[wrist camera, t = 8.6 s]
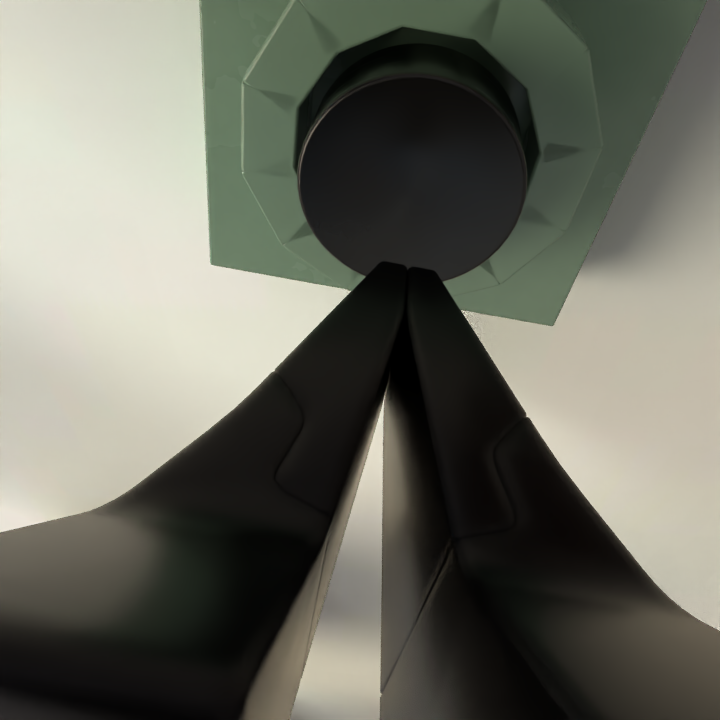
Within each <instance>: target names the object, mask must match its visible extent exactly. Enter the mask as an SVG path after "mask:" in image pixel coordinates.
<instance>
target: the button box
mask: <svg viewBox="0 0 720 720" xmlns="http://www.w3.org/2000/svg"><path fill="white" fill-rule="evenodd" d="M706 2H707V0H199V4H200V28H201V52H202V76H203V100H204V124H205V148H206V172H207V196H208V220H209V244H210V263H211V265H215V266H221V267H226V268H232V269H237V270H243V271H248V272H254V273H259V274H265V275H270V276H276V277H282V278H287V279H293V280H298V281H304V282H309V283H315V284H320V285H326V286H332V287H337V288H343V289H348V290H350V291H352V290H353V289H354V288H355V287H356V286H357V285H358V284H359V283H360V282H361V281H362V280H363V279H364V278H365V276H363V275H361V274H359V273H357V272H355V271H353V270H351V269H350V268H348V267H347V266H345V265H344V264H342V263H341V262H340V261H338V260H337V259H336V258H335V257H333V256H332V255H331V254H330V253H329V252H328V251H327V250H326V249H325V248H324V247H323V246H322V244H321V243H320V242H319V240H318V239H317V238H316V237H315V235H314V233H313V232H312V230H311V228H310V227H309V225H308V223H307V220H306V218H305V216H304V213H303V211H302V207H301V204H300V200H299V195H298V188H297V169H298V162H299V156H300V153H301V149H302V146H303V143H304V140H305V138H306V136H307V133H308V131H309V129H310V126H311V124H312V122H313V119H314V117H315V115H316V112H317V110H318V108H319V106H320V103H321V101H322V99H323V97H324V96H325V94H326V92H327V91H328V89H329V88H330V86H331V85H332V84H333V83H334V82H335V80H336V79H337V78H338V77H339V76H340V75H341V74H342V73H343V72H344V71H345V70H346V69H347V68H349V67H350V66H351V65H352V64H354V63H355V62H357V61H358V60H360V59H361V58H363V57H365V56H367V55H369V54H371V53H373V52H375V51H378V50H381V49H384V48H387V47H390V46H396V45H402V44H414V43H423V44H432V45H439V46H443V47H446V48H450V49H453V50H456V51H458V52H460V53H463V54H465V55H467V56H469V57H470V58H472V59H474V60H475V61H477V62H479V63H480V64H481V65H482V66H484V67H485V68H486V69H487V70H488V71H490V72H491V73H492V74H493V76H494V77H495V78H496V79H497V80H498V81H499V82H500V83H501V85H502V86H503V88H504V89H505V91H506V92H507V94H508V95H509V97H510V100H511V102H512V104H513V106H514V108H515V111H516V114H517V118H518V121H519V126H520V131H521V137H522V142H523V147H524V153H525V158H526V165H527V182H528V185H527V192H526V199H525V203H524V206H523V210H522V213H521V215H520V217H519V220H518V222H517V224H516V226H515V228H514V229H513V231H512V233H511V234H510V236H509V237H508V239H507V240H506V241H505V242H504V244H503V245H502V246H501V247H500V248H499V249H498V250H497V251H496V252H495V253H494V254H493V255H492V256H491V257H490V258H489V259H488V260H486V261H485V262H484V263H482V264H481V265H480V266H478V267H476V268H475V269H473V270H471V271H469V272H468V273H466V274H463V275H461V276H459V277H456V278H454V279H450V280H447V281H444V282H443V283H444V285H445V287H446V288H447V290H448V291H449V293H450V294H451V296H452V298H453V299H454V301H455V302H456V304H457V305H458V307H459V309H460V310H465V311H470V312H476V313H481V314H487V315H492V316H498V317H504V318H509V319H515V320H520V321H526V322H531V323H537V324H542V325H548V326H553V325H554V323H555V321H556V319H557V317H558V315H559V313H560V311H561V308H562V306H563V304H564V302H565V300H566V298H567V296H568V294H569V292H570V289H571V287H572V285H573V283H574V281H575V279H576V277H577V275H578V273H579V270H580V268H581V266H582V264H583V262H584V260H585V258H586V256H587V254H588V251H589V249H590V247H591V245H592V243H593V241H594V239H595V237H596V234H597V232H598V230H599V228H600V226H601V224H602V222H603V220H604V218H605V215H606V213H607V211H608V209H609V207H610V205H611V203H612V201H613V199H614V196H615V194H616V192H617V190H618V188H619V186H620V184H621V182H622V180H623V177H624V175H625V173H626V171H627V169H628V167H629V165H630V163H631V160H632V158H633V156H634V154H635V152H636V150H637V148H638V146H639V144H640V141H641V139H642V137H643V135H644V133H645V131H646V129H647V127H648V125H649V122H650V120H651V118H652V116H653V114H654V112H655V110H656V108H657V106H658V103H659V101H660V99H661V97H662V95H663V93H664V91H665V89H666V86H667V84H668V82H669V80H670V78H671V76H672V74H673V72H674V70H675V67H676V65H677V63H678V61H679V59H680V57H681V55H682V53H683V51H684V48H685V46H686V44H687V42H688V40H689V38H690V36H691V34H692V32H693V29H694V27H695V25H696V23H697V21H698V19H699V17H700V15H701V12H702V10H703V8H704V6H705V4H706Z"/></svg>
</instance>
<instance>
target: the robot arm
mask: <svg viewBox="0 0 720 720" xmlns="http://www.w3.org/2000/svg"><path fill="white" fill-rule="evenodd" d="M384 395H385V399H384ZM383 399H384V425H383V511H382V598H381V685H380V692H381V694H382V695H381V697H380V720H720V631H719V630H717V629H715V628H713V627H711V626H709V625H707V624H705V623H704V622H702V621H700V620H698V619H697V618H695V617H694V616H692V615H691V614H689V613H688V612H686V611H685V610H684V609H682V608H681V607H680V606H679V605H677V604H676V603H675V602H674V601H673V600H671V599H670V598H669V597H668V596H667V595H666V594H665V593H664V592H663V591H662V590H661V589H660V588H659V587H658V586H657V585H656V584H655V583H654V582H653V580H652V579H651V578H650V577H649V576H648V575H647V573H646V572H645V571H644V570H643V569H642V567H641V566H640V565H639V564H638V562H637V561H636V560H635V559H634V557H633V556H632V555H631V554H630V552H629V551H628V550H627V549H626V547H625V546H624V545H623V544H622V542H621V541H620V540H619V539H618V537H617V536H616V535H615V534H614V532H613V531H612V530H611V529H610V528H609V526H608V525H607V524H606V523H605V521H604V520H603V519H602V518H601V516H600V515H599V514H598V513H597V511H596V510H595V509H594V508H593V506H592V505H591V504H590V503H589V501H588V500H587V499H586V498H585V496H584V495H583V494H582V492H581V491H580V490H579V489H578V487H577V486H576V485H575V483H574V482H573V481H572V479H571V478H570V477H569V475H568V474H567V473H566V472H565V470H564V469H563V468H562V466H561V465H560V464H559V462H558V461H557V459H556V458H555V456H554V455H553V453H552V452H551V450H550V449H549V447H548V446H547V444H546V443H545V441H544V440H543V439H542V437H541V436H540V434H539V432H538V431H537V429H536V428H535V426H534V425H533V423H532V421H531V420H530V418H528V417H526V412H525V411H524V409H523V408H522V406H521V405H520V403H519V401H518V400H517V398H516V397H515V395H514V394H513V392H512V390H511V389H510V387H509V386H508V384H507V382H506V381H505V379H504V378H503V376H502V375H501V373H500V371H499V370H498V368H497V367H496V365H495V364H494V362H493V360H492V359H491V357H490V356H489V354H488V353H487V351H486V349H485V348H484V346H483V345H482V343H481V342H480V340H479V338H478V337H477V335H476V334H475V332H474V331H473V329H472V327H471V326H470V324H469V323H468V321H467V320H466V318H465V316H464V315H463V313H462V312H461V310H460V309H459V307H458V305H457V304H456V302H455V301H454V299H453V298H452V296H451V294H450V293H449V291H448V290H447V288H446V287H445V285H444V283H443V282H442V280H441V279H440V277H439V276H438V274H437V273H436V272H435V271H434V270H431V269H426V268H420V267H414V266H411V267H409V268H408V270H407V267H406V266H405V265H403V264H398V263H392V262H387V261H382V262H380V263H379V264H378V265H377V266H376V267H375V268H374V269H373V270H372V271H371V272H370V273H369V274H368V275H367V276H366V277H365V278H364V279H363V280H362V281H361V282H360V283H359V284H358V285H357V286H356V287H355V288H354V289H353V290H352V291H351V292H350V293H349V294H348V295H347V296H346V297H345V298H344V299H343V300H342V301H341V302H340V303H339V304H338V305H337V306H336V308H335V309H334V310H333V311H332V312H331V313H330V314H329V315H328V316H327V317H326V318H325V319H324V320H323V321H322V322H321V323H320V324H319V325H318V326H317V327H316V328H315V329H314V330H313V331H312V332H311V333H310V334H309V335H308V336H307V337H306V338H305V339H304V340H303V341H302V342H301V343H300V344H299V345H298V346H297V347H296V348H295V349H294V350H293V351H292V352H291V354H290V355H289V356H288V357H287V358H286V359H285V360H284V361H283V362H282V363H281V364H280V365H279V366H278V367H277V368H276V369H275V372H272V373H271V374H270V375H269V376H268V377H267V378H266V379H265V380H264V381H263V382H262V383H261V384H260V385H259V386H258V387H257V388H256V389H255V390H254V391H253V392H252V393H251V394H250V395H248V396H247V397H246V398H245V399H244V400H243V401H242V402H241V403H240V404H239V405H238V406H237V407H236V408H235V409H233V410H232V411H231V412H230V413H229V414H227V415H226V416H225V417H224V418H222V419H221V420H220V421H219V422H217V423H216V424H215V425H214V426H213V427H211V428H210V429H209V430H208V431H206V432H205V433H204V434H202V435H201V436H200V437H199V438H197V439H196V440H195V441H193V442H192V443H191V444H189V445H188V446H187V447H186V448H184V449H183V450H182V451H180V452H179V453H178V454H176V455H175V456H174V457H173V458H171V459H170V460H169V461H167V462H166V463H165V464H164V465H162V466H161V467H160V468H158V469H157V470H156V471H154V472H153V473H152V474H151V475H149V476H148V477H147V478H145V479H144V480H143V481H141V482H140V483H139V484H137V485H136V486H135V487H133V488H132V489H131V490H129V491H128V492H126V493H125V494H123V495H121V496H120V497H118V498H116V499H115V500H113V501H111V502H109V503H107V504H105V505H103V506H101V507H98V508H96V509H93V510H91V511H88V512H84V513H81V514H77V515H73V516H68V517H64V518H60V519H56V520H51V521H47V522H43V523H39V524H34V525H30V526H26V527H22V528H18V529H13V530H9V531H5V532H1V533H0V720H289V719H290V715H291V712H292V708H293V705H294V702H295V698H296V695H297V692H298V688H299V685H300V680H301V678H302V675H303V671H304V668H305V665H306V661H307V658H308V654H309V651H310V648H311V644H312V641H313V638H314V634H315V631H316V627H317V624H318V621H319V617H320V614H321V611H322V607H323V604H324V600H325V597H326V594H327V590H328V587H329V584H330V580H331V577H332V573H333V570H334V567H335V563H336V560H337V557H338V553H339V550H340V546H341V543H342V540H343V536H344V533H345V530H346V526H347V523H348V519H349V516H350V513H351V509H352V506H353V503H354V499H355V496H356V492H357V489H358V486H359V482H360V479H361V476H362V472H363V469H364V466H365V462H366V459H367V455H368V452H369V449H370V445H371V442H372V439H373V435H374V432H375V428H376V425H377V422H378V418H379V415H380V411H381V407H382V403H383Z"/></svg>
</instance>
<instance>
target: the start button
mask: <svg viewBox="0 0 720 720" xmlns="http://www.w3.org/2000/svg"><path fill="white" fill-rule="evenodd" d="M527 185H528V182H527V165H526V158H525V153H524V147H523V142H522V137H521V131H520V126H519V121H518V118H517V114H516V111H515V108H514V106H513V104H512V102H511V100H510V97H509V95H508V94H507V92H506V91H505V89H504V88H503V86H502V85H501V83H500V82H499V81H498V80H497V79H496V78H495V77H494V76H493V74H492V73H491V72H490V71H488V70H487V69H486V68H485V67H484V66H482V65H481V64H480V63H479V62H477V61H475V60H474V59H472V58H470V57H469V56H467V55H465V54H463V53H460V52H458V51H456V50H453V49H450V48H446V47H443V46H439V45H432V44H423V43H414V44H402V45H396V46H390V47H387V48H384V49H381V50H378V51H375V52H373V53H371V54H369V55H367V56H365V57H363V58H361V59H360V60H358V61H357V62H355V63H354V64H352V65H351V66H350V67H349V68H347V69H346V70H345V71H344V72H343V73H342V74H341V75H340V76H339V77H338V78H337V79H336V80H335V82H334V83H333V84H332V85H331V86H330V88H329V89H328V91H327V92H326V94H325V96H324V97H323V99H322V101H321V103H320V106H319V108H318V110H317V112H316V115H315V117H314V119H313V122H312V124H311V126H310V129H309V131H308V133H307V136H306V138H305V140H304V143H303V146H302V149H301V153H300V156H299V162H298V169H297V188H298V195H299V200H300V204H301V207H302V211H303V213H304V216H305V218H306V220H307V223H308V225H309V227H310V228H311V230H312V232H313V233H314V235H315V237H316V238H317V239H318V240H319V242H320V243H321V244H322V246H323V247H324V248H325V249H326V250H327V251H328V252H329V253H330V254H331V255H332V256H333V257H335V258H336V259H337V260H338V261H340V262H341V263H342V264H344V265H345V266H347V267H348V268H350V269H351V270H353V271H355V272H357V273H359V274H361V275H363V276H365V277H366V276H367V275H368V274H369V273H370V272H371V271H372V270H373V269H374V268H375V267H376V266H377V265H378V264H379V263H380V262H382V261H387V262H392V263H398V264H403V265H405V266H406V267H407V270H408V268H409V267H411V266H414V267H420V268H426V269H431V270H434V271H435V272H436V273H437V274H438V276H439V277H440V279H441V280H442V282H444V281H447V280H450V279H454V278H456V277H459V276H461V275H463V274H466V273H468V272H469V271H471V270H473V269H475V268H476V267H478V266H480V265H481V264H482V263H484V262H485V261H486V260H488V259H489V258H490V257H491V256H492V255H493V254H494V253H495V252H496V251H497V250H498V249H499V248H500V247H501V246H502V245H503V244H504V242H505V241H506V240H507V239H508V237H509V236H510V234H511V233H512V231H513V229H514V228H515V226H516V224H517V222H518V220H519V217H520V215H521V213H522V210H523V206H524V203H525V199H526V192H527Z"/></svg>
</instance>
